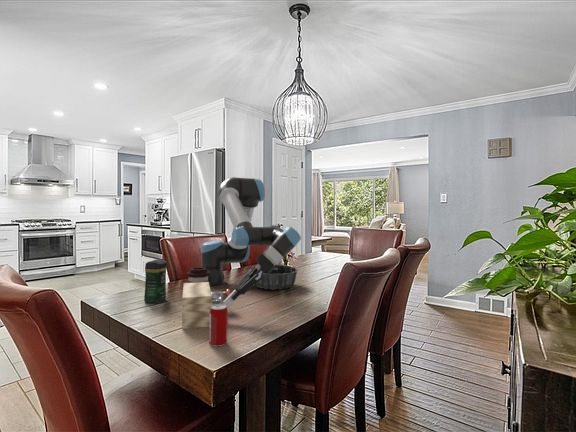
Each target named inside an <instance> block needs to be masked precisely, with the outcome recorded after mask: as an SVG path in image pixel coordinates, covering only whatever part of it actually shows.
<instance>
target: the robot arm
mask: <svg viewBox="0 0 576 432" xmlns="http://www.w3.org/2000/svg"><path fill="white" fill-rule="evenodd" d="M265 195H266V189H265V185H264V182H263V181H262V180H261V179H259V178H248V177H236V176H234V177H228V178H226V179H225V180H223V182H221V184H220V185H219V187H218V190H217V196H218V199H219V202H220V203H221V204H223V206H224V208H225V210H226V212H227V215H228V217H229V219H230V221H231V224H232V232H231V235H230V237H228V240H227V242H224V241H222V240H211V241H206V242H204V243H202V244H201V248H200V249H201V251H200V253H201V254H200V260H201V261H200V263H201V264H200V267H202V268H206V269H207V271H209V272H210V275H209V276H208V282H209V286H218V285H222V284H223V285H224V283H226V276H225V274H224V270H223V264H235V263H237V264H240V263H244V262H246V261H248V258H249V256H250V250H251V249H250V246H267V247H266V248H265V249H264V251H262V253H261V254H260V255H258V257H256V258H255V262H256V263H257V264H256V265H254V267H253V268H251V267H250V268H249V269H248V271H247V272H246V274H245V275H244V276H243V277H242V278H241V280H239V282H238V283H237V284H236V285H235V289H234V290H233V291H232V292H230V295H229V296H228V297H227V298H226V299H225V300H224V301H223V304H224V305H226V306H227V309H228V308H229V307H231V306H232V305H233V303H234V302H236V300H237V299H238V298H239V297H240V296H244V295H245V294H247V292H248V291H249V290H251V288H252V287H254V286H255V284H256V283H257V282H258V281H260V280H261V279H262V277H261V276H262V275H263V273H264V272H265V271H267V272H268V273H270V272H271V271H272V270H273V269H274V268H275V266H274V265H279V264H280V263H282V262H283V259H284V258H285V257H286V256H288V254H289V253H290V252H291V251H292V250H293V249H294V248H295V247H296V246H297V245H298V243H299V242H300V241H301V239H302V237H301V235H300V234H299V232H298V231H297V229H295V228H294V227H292V226H291V225H289V226H287V227H285V228H284V229H282V228H281V227H279V226H277V225H275V224H270V225H269V224H268V225H267V226H254V225H253V224H252V220H253V219H252V218H253V215H254V209H255V208H257V207H258V205H259V203H261V202H263V201H264V200H265V197H266V196H265Z"/></svg>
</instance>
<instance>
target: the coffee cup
mask: <svg viewBox="0 0 576 432" xmlns="http://www.w3.org/2000/svg"><path fill="white" fill-rule="evenodd" d="M209 275H210V272H209V271H207V269H206V268H202V267H201V266H199V267H191V268H190V270H189V271H187V272H186V276H187V279H188V280H187V283H197V282H208V276H209Z"/></svg>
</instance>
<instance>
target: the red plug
mask: <svg viewBox="0 0 576 432" xmlns="http://www.w3.org/2000/svg"><path fill="white" fill-rule="evenodd" d="M211 294H212V300H215V299H219V297H222V298H223V301H224V300H225V299H226V298H227V297H228V296H229V295H230V294H231V290H230V288H226V290H225V291H224V290H223V291H211Z"/></svg>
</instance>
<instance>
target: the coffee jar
mask: <svg viewBox="0 0 576 432" xmlns="http://www.w3.org/2000/svg"><path fill="white" fill-rule="evenodd" d="M167 270H168V269H167V261H166V260H165V259H158V258H156V259H154V260H150V261H147V262H146V263H145V266H144V272H145V281H144V285H145V286H144V295H143V296H144V298H143V299H144V302H145V303H146V304H147V303H148V304H156V303H157V304H159V303H160V302H163V301H164V300H166V298H167V283H166V282H167V281H166V280H167V278H166V276H167Z"/></svg>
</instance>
